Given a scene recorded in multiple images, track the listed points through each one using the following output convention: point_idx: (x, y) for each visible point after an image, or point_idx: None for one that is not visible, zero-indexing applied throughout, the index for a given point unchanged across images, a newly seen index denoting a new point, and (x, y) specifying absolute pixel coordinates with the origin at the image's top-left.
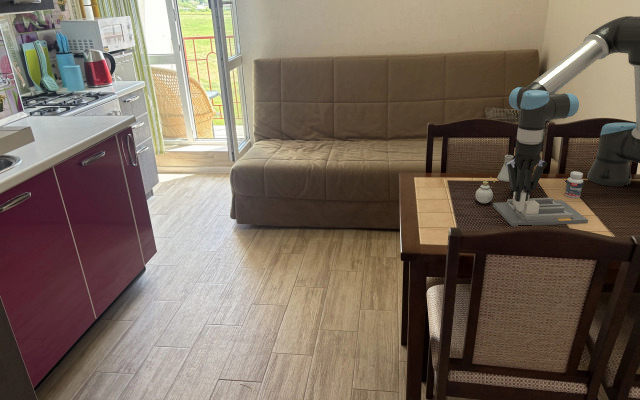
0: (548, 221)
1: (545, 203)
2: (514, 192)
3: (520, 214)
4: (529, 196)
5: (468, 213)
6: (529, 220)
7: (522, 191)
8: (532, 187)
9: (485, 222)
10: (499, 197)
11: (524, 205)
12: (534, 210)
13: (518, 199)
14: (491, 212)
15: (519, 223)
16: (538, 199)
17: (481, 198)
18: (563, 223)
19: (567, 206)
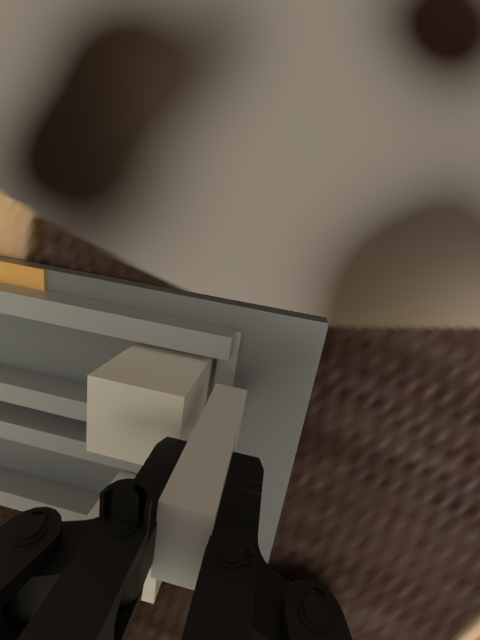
0: (107, 281)
1: (20, 471)
2: (153, 597)
3: None
4: (85, 518)
5: (454, 530)
6: (206, 322)
7: (173, 552)
8: (30, 561)
9: (443, 409)
10: (182, 601)
11: (204, 407)
12: (145, 362)
13: (244, 469)
14: (321, 496)
15: (281, 313)
16: (37, 501)
17: None
18: (36, 263)
19: None
